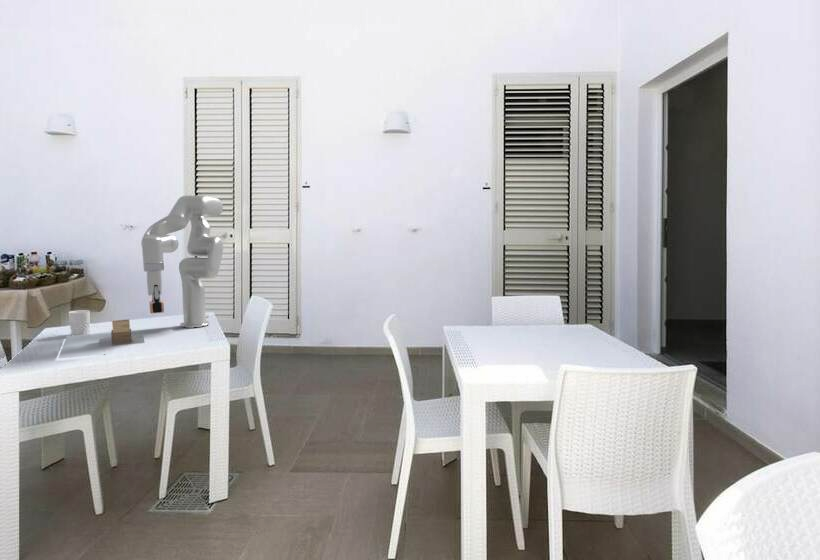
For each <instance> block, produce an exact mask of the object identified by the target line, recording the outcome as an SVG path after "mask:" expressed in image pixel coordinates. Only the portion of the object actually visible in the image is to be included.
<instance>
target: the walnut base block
mask: <svg viewBox="0 0 820 560" xmlns="http://www.w3.org/2000/svg"><path fill="white" fill-rule="evenodd" d="M110 334H111V335H110V336H111V337H110V338H112V343H121V342H132V338H131V336H132V329H131V328H130V332H119V333H113V329H111V333H110Z"/></svg>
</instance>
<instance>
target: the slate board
mask: <svg viewBox="0 0 820 560" xmlns="http://www.w3.org/2000/svg"><path fill="white" fill-rule="evenodd" d="M131 338H132V342H121V343H112V338H111V337H105V338H99V341H98V348H102V347H103V348H105V347H111V346H112V347H114V346H116V347H117V346H127V345H134V344H136V345H137V344H145V338H144V335H143V334H141V335H140V334H139V335H138V334H137V335H131Z"/></svg>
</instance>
